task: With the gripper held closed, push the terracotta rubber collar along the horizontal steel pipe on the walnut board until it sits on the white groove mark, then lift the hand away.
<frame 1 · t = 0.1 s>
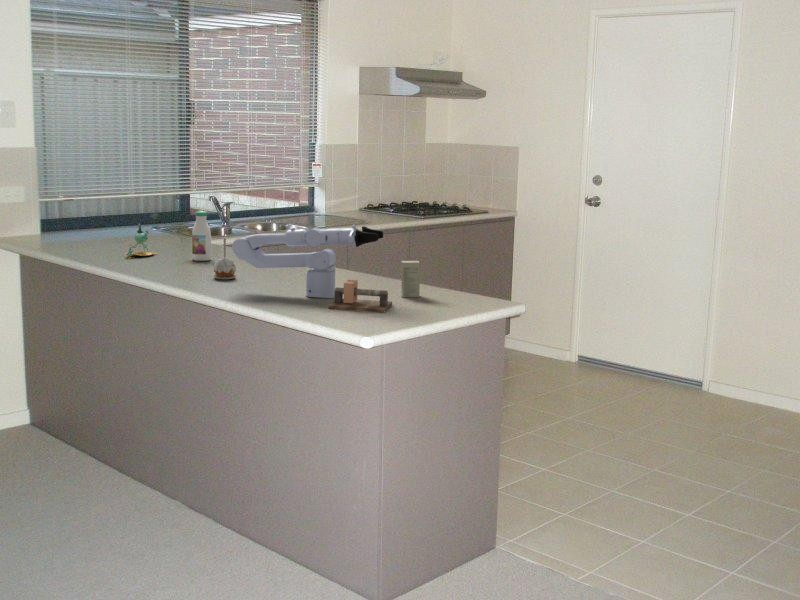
hand: (380, 236, 312), 22 cm above the worktop, fingers open, 7 cm apart
milk bottle: (201, 260, 389), on the worktop
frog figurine: (139, 257, 394), on the worktop
skincare box: (409, 297, 323), on the worktop
decorative ornament: (224, 279, 348), on the worktop
pipe rig: (360, 306, 303), on the worktop
collar: (350, 291, 303), point 5 cm above the worktop, slide at 0.0 cm
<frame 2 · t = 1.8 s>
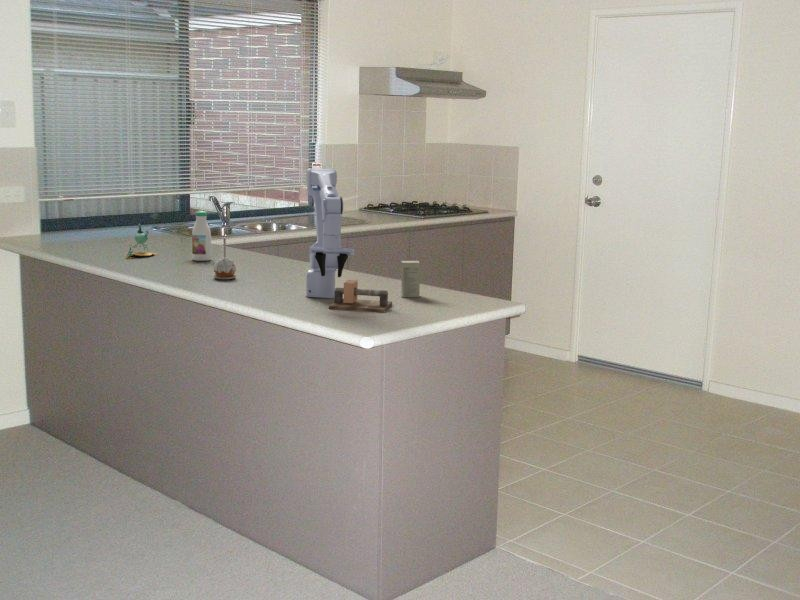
hand: (331, 276, 303), 9 cm above the worktop, fingers open, 5 cm apart
nothing on the worktop moved.
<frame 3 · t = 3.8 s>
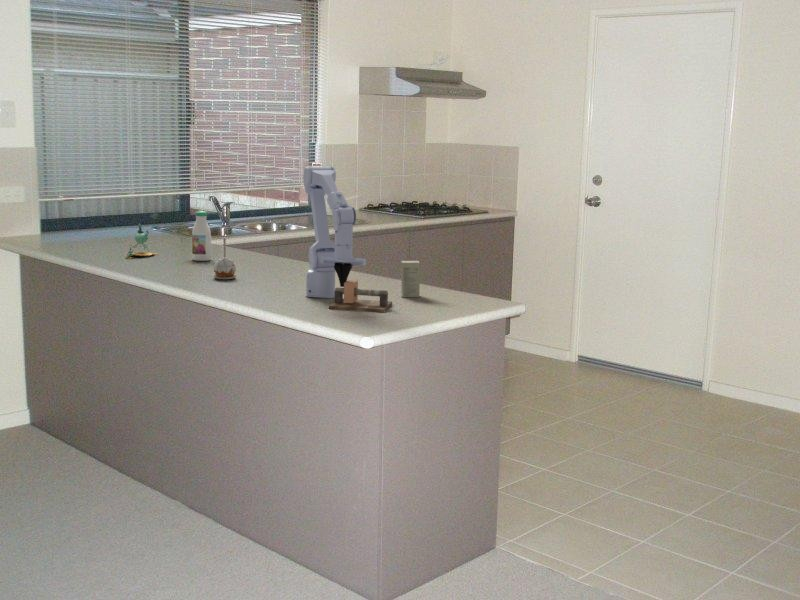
hand: (343, 286, 303), 6 cm above the worktop, fingers closed
collar: (350, 291, 303), point 5 cm above the worktop, slide at 0.1 cm, touching gripper
everything else where it was.
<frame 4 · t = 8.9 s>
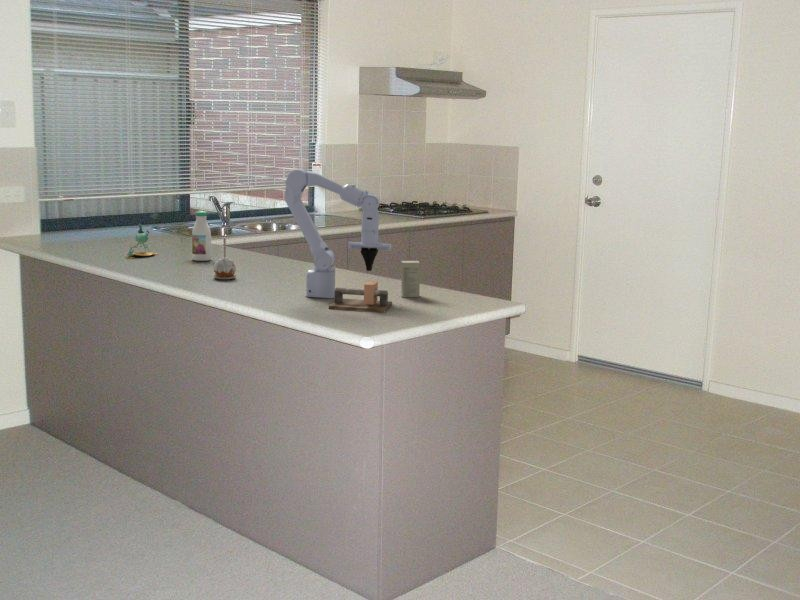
hand: (369, 270, 317), 9 cm above the worktop, fingers closed
collar: (370, 292, 302), point 5 cm above the worktop, slide at 6.7 cm
everything else where it was.
at the end: collar slide at 6.7 cm; collar 0.2 cm from the target spot on the pipe rig, point 4.8 cm above the pipe rig's base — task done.
